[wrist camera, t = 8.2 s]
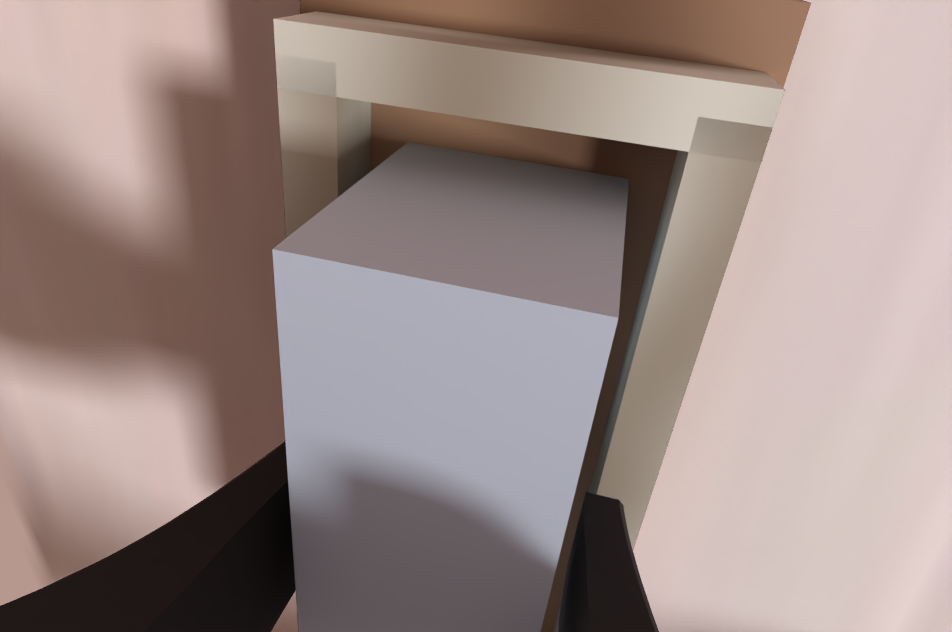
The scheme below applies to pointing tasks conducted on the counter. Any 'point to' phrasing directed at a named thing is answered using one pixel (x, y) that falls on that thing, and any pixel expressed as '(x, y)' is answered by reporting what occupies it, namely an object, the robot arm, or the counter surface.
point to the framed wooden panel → (563, 155)
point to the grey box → (443, 386)
